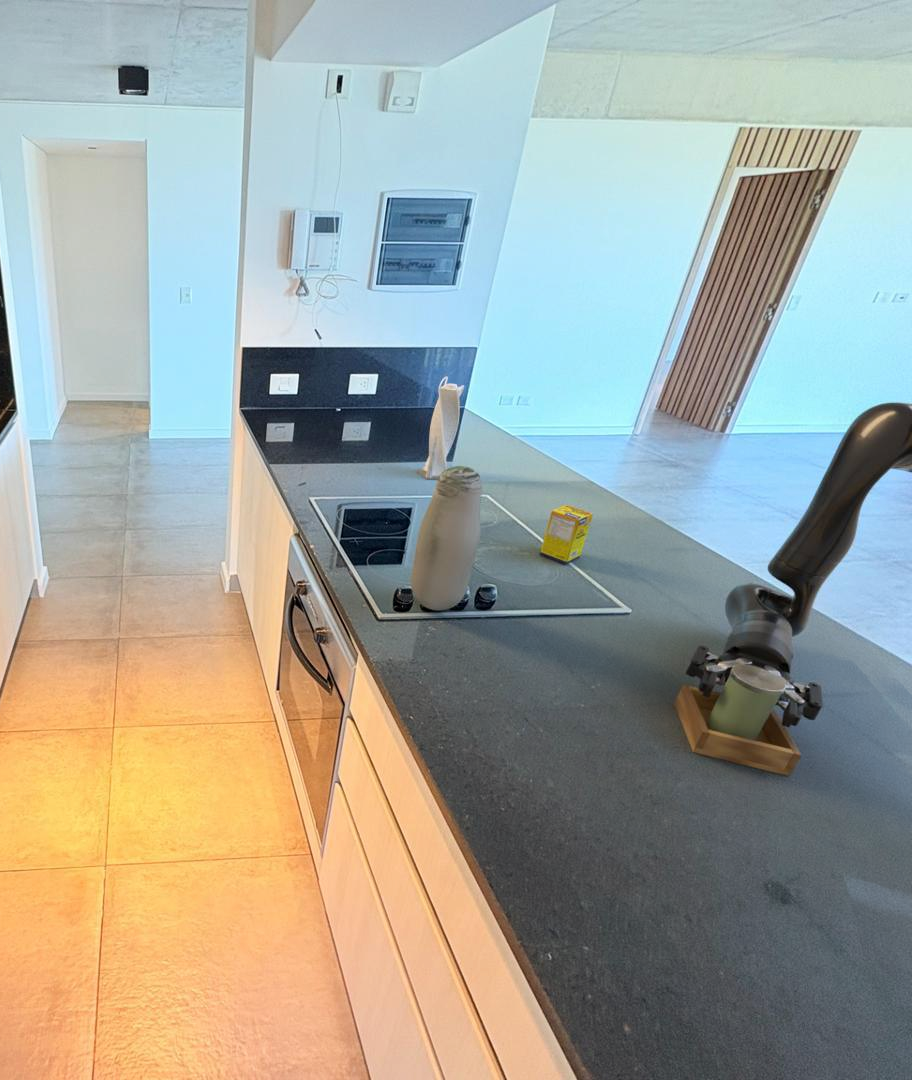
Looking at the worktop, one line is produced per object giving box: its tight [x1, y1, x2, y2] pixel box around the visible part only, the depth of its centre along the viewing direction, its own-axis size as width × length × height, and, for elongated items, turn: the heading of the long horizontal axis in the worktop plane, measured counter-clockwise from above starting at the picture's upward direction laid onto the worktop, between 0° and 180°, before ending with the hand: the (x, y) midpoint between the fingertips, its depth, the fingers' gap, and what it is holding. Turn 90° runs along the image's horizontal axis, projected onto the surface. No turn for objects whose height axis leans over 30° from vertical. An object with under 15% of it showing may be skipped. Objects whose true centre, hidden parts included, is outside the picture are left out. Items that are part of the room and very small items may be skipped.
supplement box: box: [539, 504, 594, 566], centre depth 134 cm, size 6×6×11 cm
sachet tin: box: [706, 664, 786, 741], centre depth 85 cm, size 6×6×10 cm
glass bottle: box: [410, 465, 483, 611], centre depth 112 cm, size 10×10×28 cm
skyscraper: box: [416, 375, 465, 481], centre depth 176 cm, size 8×8×28 cm
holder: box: [673, 684, 802, 777], centre depth 87 cm, size 11×11×4 cm
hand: (746, 706), depth 83 cm, fingers open, 8 cm apart
